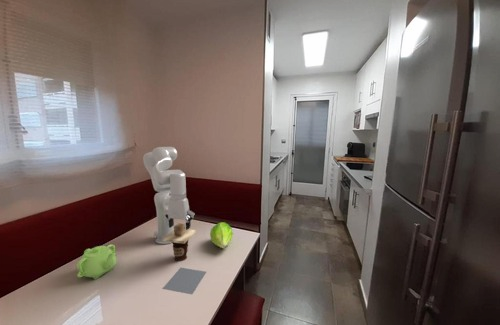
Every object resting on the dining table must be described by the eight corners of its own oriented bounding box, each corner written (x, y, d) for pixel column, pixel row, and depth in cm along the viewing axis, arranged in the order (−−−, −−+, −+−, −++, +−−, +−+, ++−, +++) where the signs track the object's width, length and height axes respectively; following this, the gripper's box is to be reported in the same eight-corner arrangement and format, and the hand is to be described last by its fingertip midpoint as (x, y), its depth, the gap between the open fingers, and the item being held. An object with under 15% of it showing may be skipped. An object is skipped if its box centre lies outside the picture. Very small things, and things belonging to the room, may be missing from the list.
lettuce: (209, 257, 108) (209, 236, 106) (210, 238, 127) (210, 220, 126) (234, 254, 110) (234, 234, 108) (232, 236, 130) (232, 219, 128)
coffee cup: (183, 265, 101) (182, 241, 99) (169, 263, 102) (168, 239, 101) (192, 255, 109) (191, 233, 107) (178, 253, 111) (177, 231, 109)
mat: (162, 289, 85) (162, 288, 85) (180, 268, 98) (180, 267, 98) (192, 295, 82) (192, 294, 82) (206, 272, 95) (206, 271, 95)
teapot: (123, 259, 105) (122, 237, 103) (115, 277, 92) (113, 252, 90) (87, 266, 99) (84, 242, 98) (72, 286, 86) (69, 259, 85)
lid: (162, 240, 99) (162, 229, 99) (176, 229, 111) (175, 219, 110) (184, 243, 97) (183, 231, 96) (195, 232, 109) (195, 221, 108)
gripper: (158, 197, 99) (160, 229, 102) (190, 199, 96) (191, 232, 98) (168, 192, 107) (169, 222, 109) (197, 195, 103) (198, 226, 105)
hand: (179, 227), depth 103 cm, fingers open, 9 cm apart
